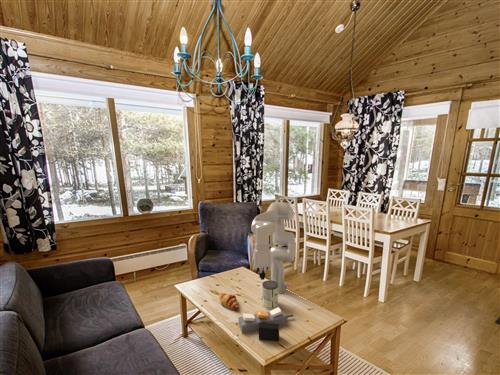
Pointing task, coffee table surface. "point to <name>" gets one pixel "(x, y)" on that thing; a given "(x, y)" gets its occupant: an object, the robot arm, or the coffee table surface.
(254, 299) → the coffee table surface
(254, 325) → the power strip
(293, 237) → the robot arm
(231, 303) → the croissant
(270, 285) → the coffee can
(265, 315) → the amber rocker
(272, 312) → the white rocker
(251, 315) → the block
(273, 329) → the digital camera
